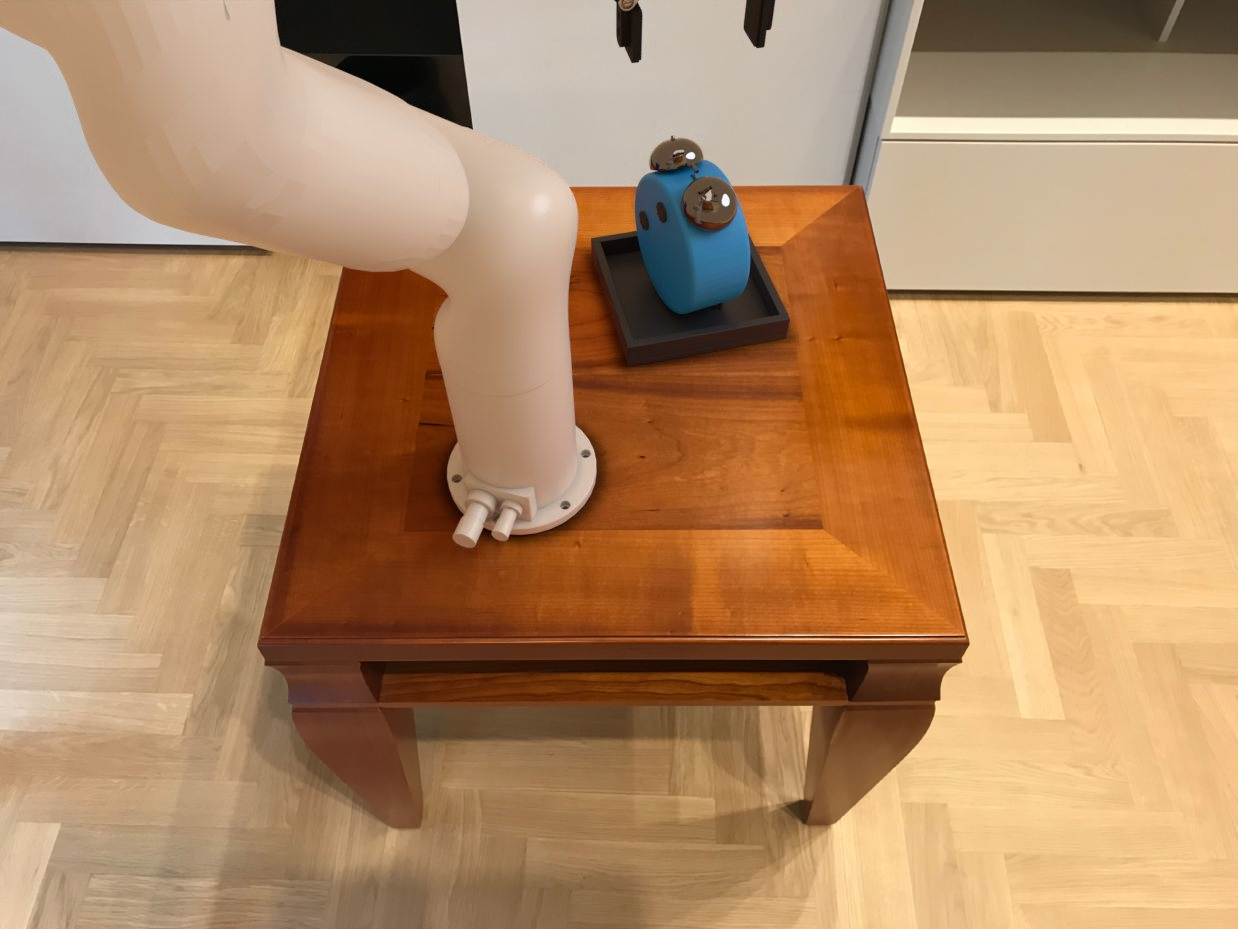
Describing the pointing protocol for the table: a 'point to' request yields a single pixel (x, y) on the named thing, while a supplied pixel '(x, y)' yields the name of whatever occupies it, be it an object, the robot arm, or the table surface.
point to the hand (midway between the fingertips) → (693, 46)
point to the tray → (670, 335)
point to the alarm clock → (691, 229)
